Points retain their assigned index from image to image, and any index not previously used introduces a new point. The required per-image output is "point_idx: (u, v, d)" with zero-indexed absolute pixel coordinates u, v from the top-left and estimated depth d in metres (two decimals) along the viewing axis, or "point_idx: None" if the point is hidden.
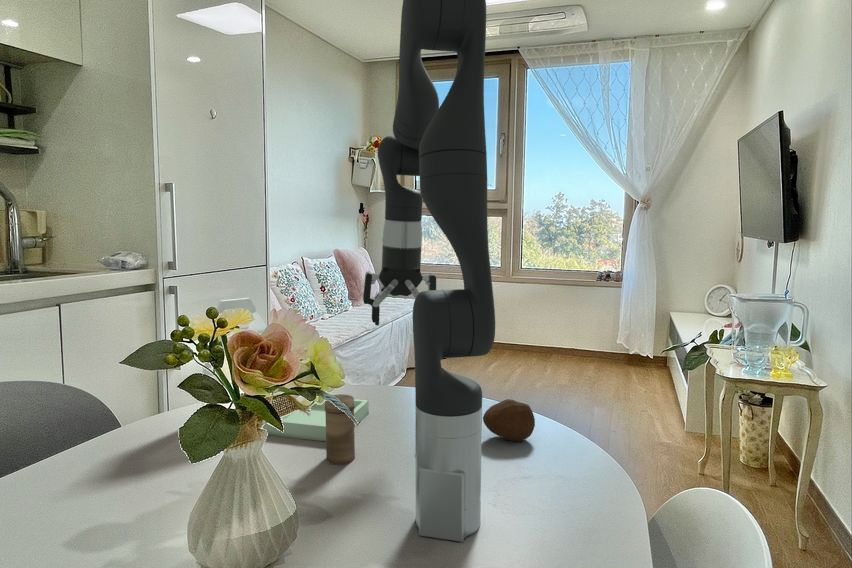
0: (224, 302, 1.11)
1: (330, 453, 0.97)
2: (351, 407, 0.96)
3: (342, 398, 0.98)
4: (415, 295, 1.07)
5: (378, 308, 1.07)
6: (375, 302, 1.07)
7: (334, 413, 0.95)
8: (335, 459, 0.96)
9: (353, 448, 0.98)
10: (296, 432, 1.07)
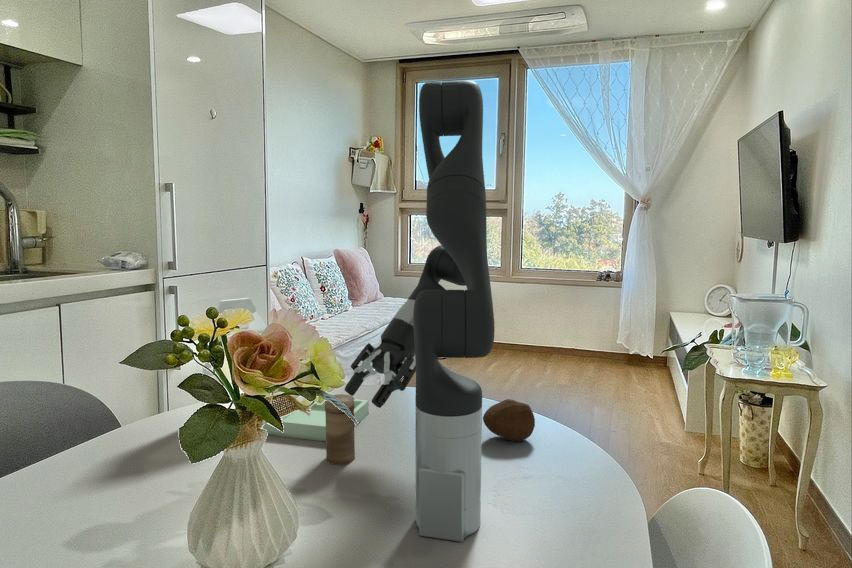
0: (224, 302, 1.11)
1: (330, 453, 0.97)
2: (351, 407, 0.96)
3: (342, 398, 0.98)
4: (385, 368, 1.00)
5: (356, 374, 1.05)
6: (357, 368, 1.05)
7: (334, 413, 0.95)
8: (335, 459, 0.96)
9: (353, 448, 0.98)
10: (296, 432, 1.07)
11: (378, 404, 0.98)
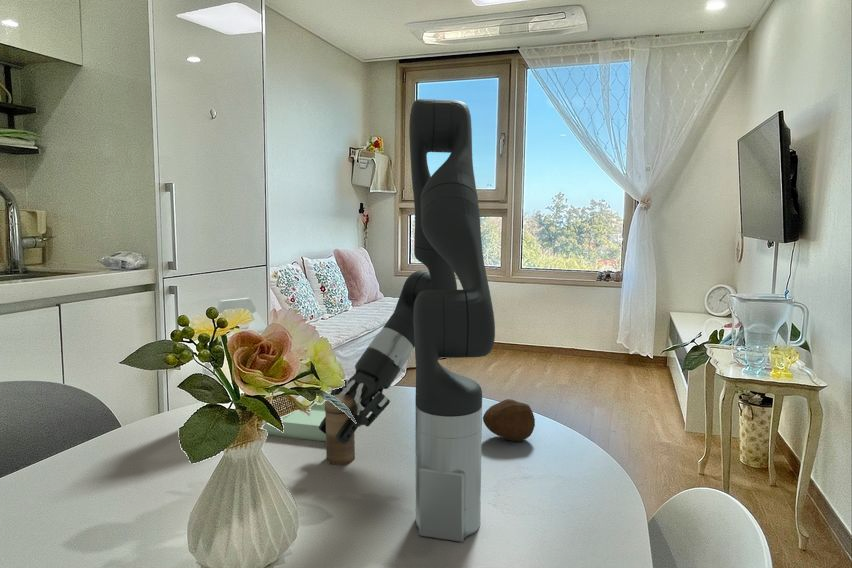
0: (224, 302, 1.11)
1: (330, 453, 0.97)
2: (351, 407, 0.96)
3: (342, 398, 0.98)
4: (354, 401, 0.97)
5: None
6: None
7: (334, 413, 0.95)
8: (335, 459, 0.96)
9: (353, 448, 0.98)
10: (296, 432, 1.07)
11: (343, 440, 0.95)
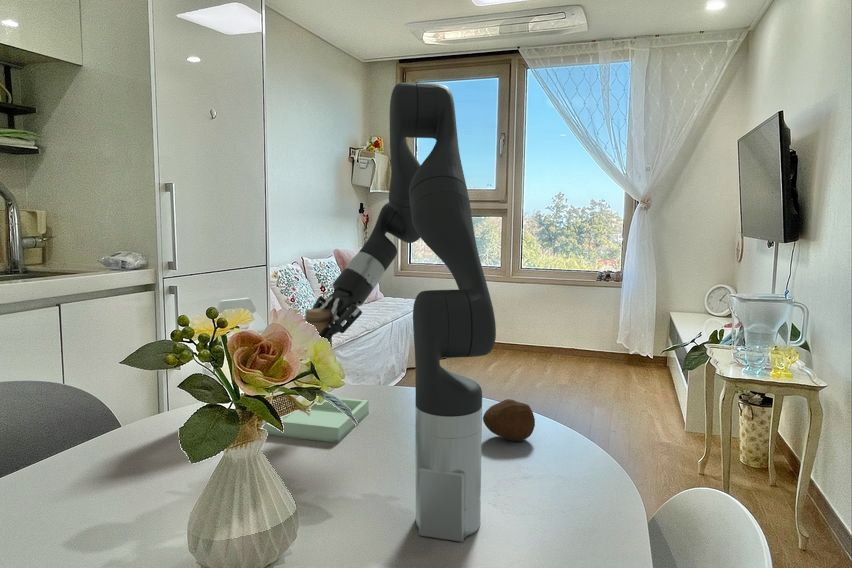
0: (224, 302, 1.11)
1: None
2: (328, 317, 1.10)
3: (321, 310, 1.12)
4: (331, 312, 1.11)
5: None
6: None
7: (313, 321, 1.09)
8: None
9: None
10: (296, 432, 1.07)
11: None
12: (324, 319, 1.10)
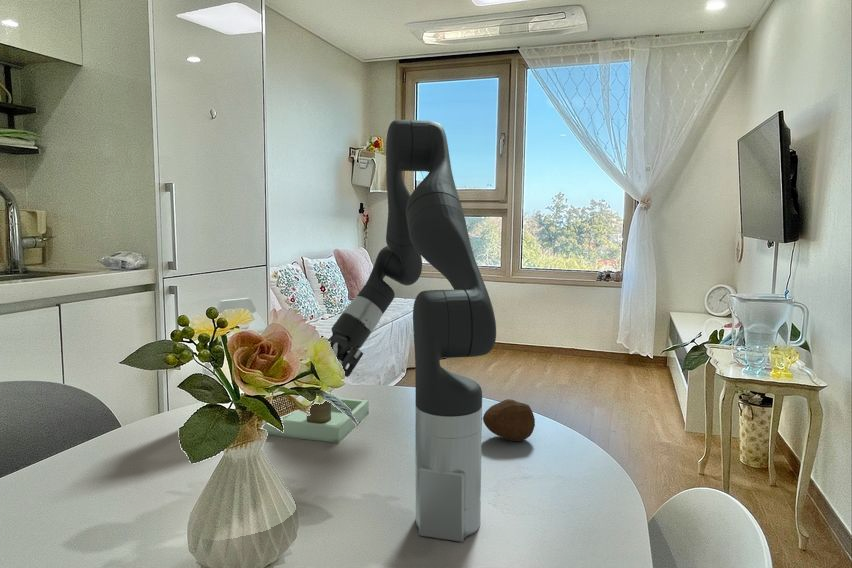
0: (224, 302, 1.11)
1: None
2: None
3: None
4: None
5: None
6: None
7: None
8: (313, 419, 1.13)
9: (329, 410, 1.14)
10: (296, 432, 1.07)
11: None
12: None
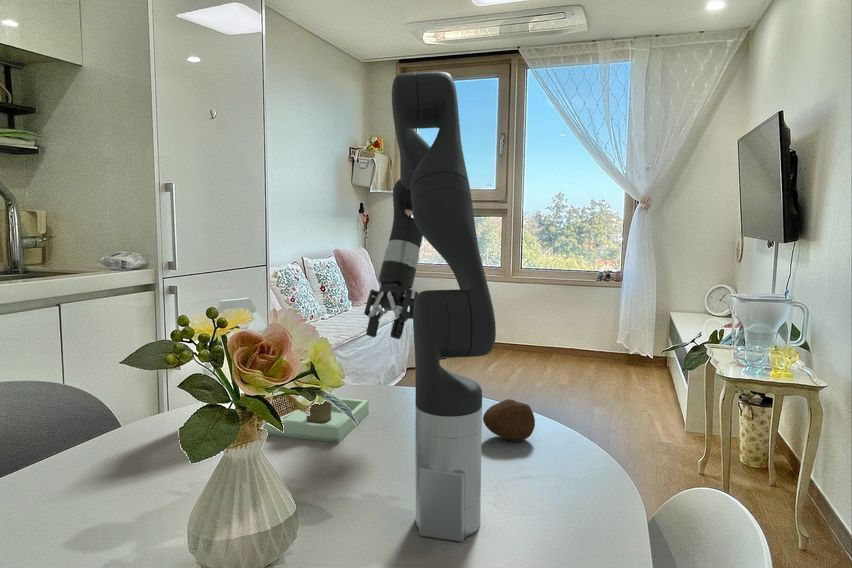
0: (224, 302, 1.11)
1: None
2: None
3: None
4: (391, 305, 1.15)
5: (371, 319, 1.20)
6: (370, 313, 1.20)
7: None
8: (313, 419, 1.13)
9: (329, 410, 1.14)
10: (296, 432, 1.07)
11: (397, 336, 1.13)
12: None
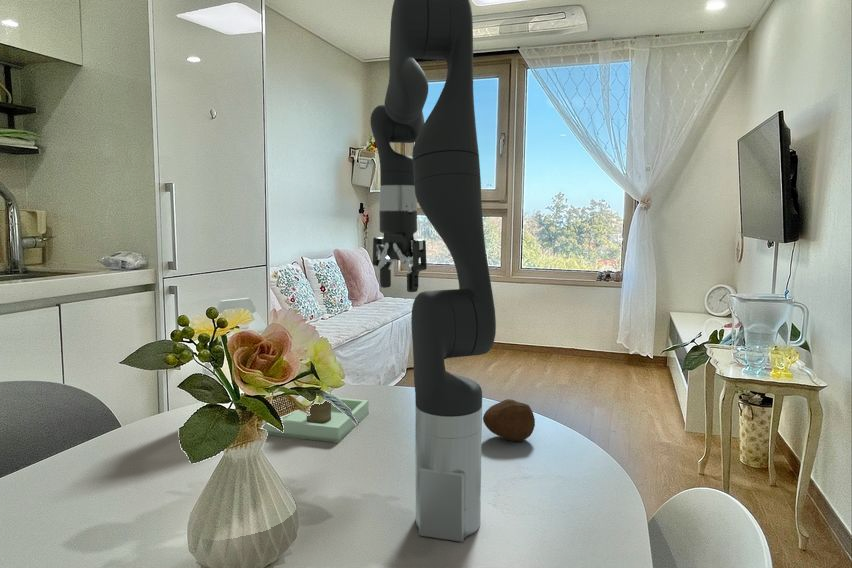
0: (224, 302, 1.11)
1: None
2: None
3: None
4: (401, 259, 1.08)
5: (381, 270, 1.14)
6: (379, 264, 1.14)
7: None
8: (313, 419, 1.13)
9: (329, 410, 1.14)
10: (296, 432, 1.07)
11: (414, 290, 1.09)
12: None
